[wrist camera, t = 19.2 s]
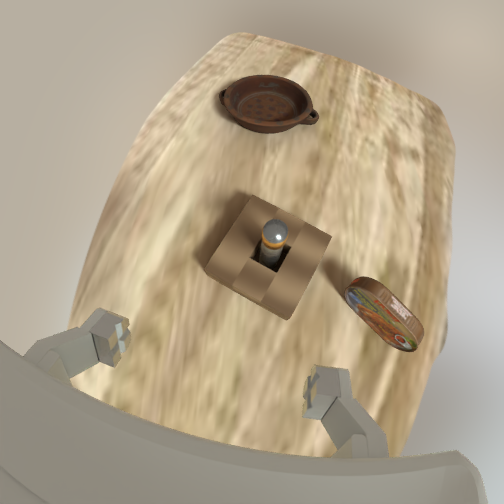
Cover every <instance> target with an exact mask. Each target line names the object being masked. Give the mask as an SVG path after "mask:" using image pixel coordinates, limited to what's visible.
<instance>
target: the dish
mask: <svg viewBox="0 0 504 504" xmlns="http://www.w3.org/2000/svg"><path fill="white" fill-rule="evenodd" d="M219 98H220V101H221V103H222V104H223V105H225V106H226V108H227V110H228V111H229V112H230V113H231V114H232V115H233V117H234V118H235V119H236V121H237V122H238V123H239V124H241V125H242V126H244V127H245V128H247V129H249V130H252V131H255V132H259V133H267V134H268V133H278V132H283V131H286V130H288V129H290V128H292V127H294V126H296V125H298V124H306V125H312V124H315V123H316V122H317V121H318V119H319V115H318V113H317V112H316V111H315V110H314V109H313V104H312V101H311V98H310V96H309V94H308V93H307V91H306V90H304V89H303V88H302V87H301V86H300V85H299V84H297V83H295V82H294V81H291V80H289V79H286V78H283V77H278V76H273V75H254V76H248V77H245V78H242V79H240V80H238V81H236V82H234V83H233V84H232V85H230V86H229V87H228V88H227V89H225V90H223V91H221V92H220V94H219ZM308 115H310V116H311V117H312V118H308V117H307V116H308Z"/></svg>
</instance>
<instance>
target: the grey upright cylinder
mask: <svg viewBox="0 0 504 504" xmlns="http://www.w3.org/2000/svg"><path fill="white" fill-rule="evenodd" d="M287 237H288V227H287V225H286V224H285V223H284V222H283V221H281V220H279V219H272V220H269V221H268V222H266V224H265V225H264V227H263V229H262V236H261V239H262V242H261V249H260V256H259V263H260V264H261V265H263V266H265V267H267V268H269V269H273V268H274V267H275V266H276V265H277V263H278V260H279V257H280V255H281V252H282V249H283V246H284V245H285V243H286V240H287Z"/></svg>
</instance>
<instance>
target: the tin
mask: <svg viewBox="0 0 504 504" xmlns="http://www.w3.org/2000/svg"><path fill="white" fill-rule="evenodd" d="M344 294H345V299H346V301H347V303H348V304H349V306H350V307H351V308H352V309H353V311H354V312H355V313H357V314H358V315H359V316H360V317H361V318H362V319H363V320H364V321H365V322H366V323H367V324H368V325H369V326H370V327H371V328H372V329H373V330H374V331H375V332H376V333H377V334H378V335H379V336H380V337H381V338H382V339H383V340H385V341H386V342H387V343H388V344H390V345H391V346H393V347H394V348H396V349H399V350H401V351H405V352H414V351H416V350H417V348H418V345H419V344H420V342H421V340H422V339H423V336H424V329H423V326H422V324H421V323H420V321H419V320H418V319H417V318H416V317H415V316H414V315H413V314H412V313H411V312H410V311H409V310H408V309H407V308H406V307H405V305H404V304H403V303H402V302H401V301H400V300H399V299H398V298H397V297H396V296H394V294H392V293H391V292H390V291H389V290H388V289H387V288H386V287H385V286H384V285H383V284H381V283H380V282H378V281H377V280H374V279H372V278H369V277H359V278H356V279H355V280H354V281H353V282H352V283H351V285H350V286H349V287H347V288H346V289H345V293H344Z"/></svg>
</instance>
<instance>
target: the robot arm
mask: <svg viewBox="0 0 504 504" xmlns="http://www.w3.org/2000/svg"><path fill="white" fill-rule="evenodd" d="M128 326H129V319H127V318H126V317H123V316H120V315H118V314H115V313H113V312H110V311H107V310H104V309H102V308H98V309H96V310H95V311H94V313H93V314H92V315H91V316H90V317H89V318H88V319H87V320H86V321H85V323H84V324H83V325H82V326H81V327H80V328H78V327H76V328H73V329H70V330H67V331H64V332H62V333H59V334H56V335H53V336H50V337H47V338H44V339H42V340H39V341H37V342H36V343H35V344H34V345H33V346H32V347H31V348H30V349H29V350H28V352H27V353H26V354H25V355H24V356H21V355H19V354H18V353H17V352H15V351H14V350H12V349H11V348H10V347H8V346H7V345H6V344H4V343H3V342H2V341H0V504H488V500H487V496H486V492H485V487H484V484H483V480H482V477H481V474H480V472H479V471H478V469H477V467H476V466H475V465H474V464H473V463H471V461H470V460H469V459H467V458H466V457H465V456H464V455H463V454H461V453H460V452H459V451H457V450H448V451H443V452H437V453H430V454H422V455H413V456H403V457H389V453H388V446H387V439H386V434H385V433H384V431H383V430H382V429H381V428H380V427H379V426H378V424H377V423H376V422H375V421H374V420H373V419H372V417H371V416H370V415H369V414H368V413H367V412H366V410H365V409H364V408H363V407H362V406H361V404H360V403H359V402H358V401H357V400H356V399H353V397H352V389H351V381H350V374H349V370H348V369H343V368H335V367H328V366H321V365H314V366H313V367H312V369H311V375H310V376H308V377H307V379H306V382H305V385H304V389H303V398H304V399H305V402H304V404H303V410H302V417H303V418H309V419H317V420H321V422H322V424H323V426H324V427H325V429H326V431H327V432H328V434H329V436H330V438H331V439H332V441H333V443H334V444H335V446H336V448H337V449H338V451H337V452H336V453H334V454H333V455H332V456H331V457H330V458H325V457H310V456H299V455H290V454H282V453H274V452H268V451H261V450H256V449H250V448H245V447H240V446H235V445H230V444H226V443H221V442H217V441H213V440H209V439H205V438H201V437H198V436H194V435H191V434H187V433H184V432H181V431H177V430H174V429H171V428H168V427H165V426H162V425H159V424H156V423H153V422H151V421H148V420H145V419H143V418H140V417H137V416H135V415H132V414H130V413H127V412H125V411H122V410H120V409H118V408H115V407H113V406H111V405H109V404H106V403H104V402H102V401H100V400H98V399H96V398H94V397H92V396H90V395H88V394H86V393H84V392H82V391H80V390H78V389H76V388H74V387H73V386H72V384H71V381H70V378H72V377H74V376H75V375H77V374H79V373H81V372H83V371H85V370H86V369H88V368H90V367H92V366H94V365H96V364H97V363H99V362H102V363H104V364H107V365H109V366H112V367H114V368H115V367H116V365H117V364H118V362H119V361H120V359H121V353H122V352H125V351H126V350H127V348H128V347H129V344H130V340H131V333H130V331H129V330H128V328H127V327H128Z"/></svg>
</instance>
